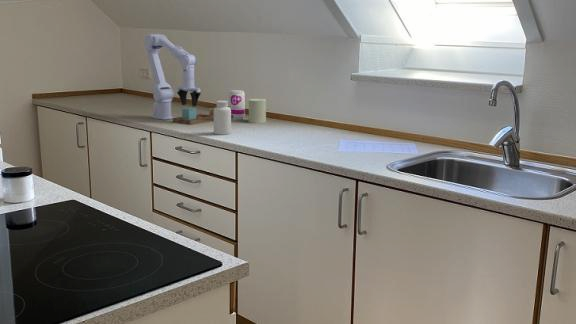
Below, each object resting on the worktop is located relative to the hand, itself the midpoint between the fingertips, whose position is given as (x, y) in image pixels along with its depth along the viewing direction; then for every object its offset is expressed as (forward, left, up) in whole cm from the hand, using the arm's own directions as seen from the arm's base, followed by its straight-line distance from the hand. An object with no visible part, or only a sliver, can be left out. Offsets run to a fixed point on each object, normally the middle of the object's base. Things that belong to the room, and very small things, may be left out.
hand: (189, 105), depth 311 cm
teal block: (0, 0, -9) cm, 9 cm away
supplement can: (+12, +24, -9) cm, 28 cm away
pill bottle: (+35, -13, -9) cm, 39 cm away
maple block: (0, +17, -6) cm, 18 cm away
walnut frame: (0, +5, -8) cm, 10 cm away
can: (+26, +24, -9) cm, 36 cm away
